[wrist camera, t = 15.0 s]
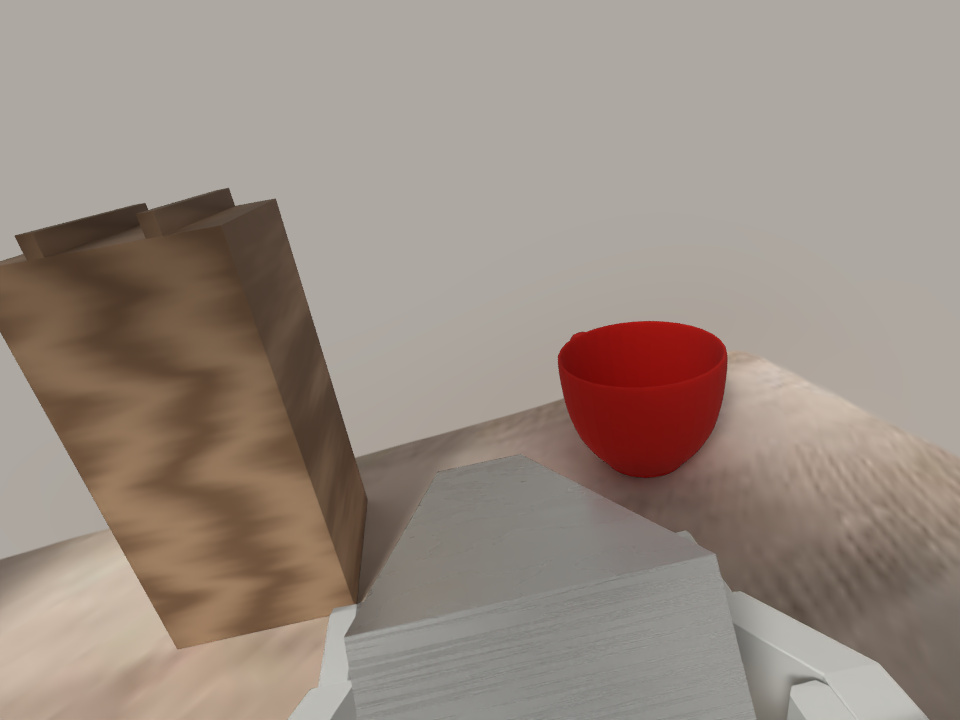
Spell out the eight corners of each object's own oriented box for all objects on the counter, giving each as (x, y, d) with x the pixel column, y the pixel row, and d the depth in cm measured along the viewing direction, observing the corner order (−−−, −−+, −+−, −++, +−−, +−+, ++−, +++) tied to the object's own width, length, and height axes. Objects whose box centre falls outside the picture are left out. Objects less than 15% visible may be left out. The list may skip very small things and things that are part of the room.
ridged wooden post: (177, 649, 36) (-48, 246, 25) (230, 528, 47) (90, 212, 36) (355, 609, 37) (212, 200, 26) (367, 499, 48) (270, 180, 37)
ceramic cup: (632, 388, 58) (627, 300, 54) (761, 466, 43) (768, 352, 39) (525, 426, 54) (511, 335, 50) (625, 526, 40) (617, 408, 36)
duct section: (416, 1072, 5) (343, 636, 6) (454, 557, 25) (438, 471, 25) (817, 965, 5) (716, 554, 6) (538, 539, 25) (520, 454, 26)
